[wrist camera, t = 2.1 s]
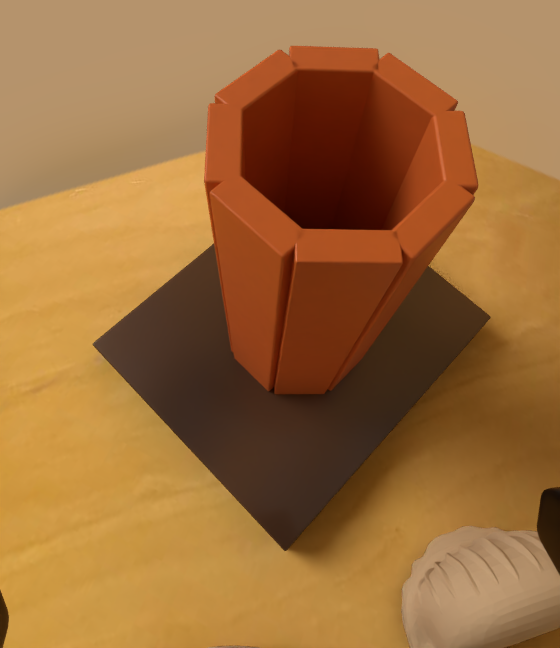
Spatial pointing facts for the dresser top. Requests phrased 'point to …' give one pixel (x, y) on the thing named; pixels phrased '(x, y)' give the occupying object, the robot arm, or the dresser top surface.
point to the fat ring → (233, 647)
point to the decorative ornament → (481, 590)
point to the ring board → (281, 409)
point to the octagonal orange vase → (328, 205)
